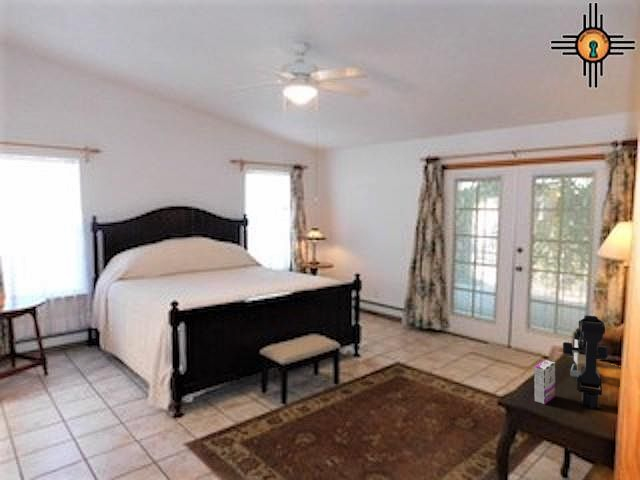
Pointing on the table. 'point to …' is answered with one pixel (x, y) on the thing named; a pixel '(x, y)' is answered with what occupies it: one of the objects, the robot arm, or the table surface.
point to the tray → (574, 371)
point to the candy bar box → (544, 381)
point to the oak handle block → (580, 362)
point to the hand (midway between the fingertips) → (583, 358)
